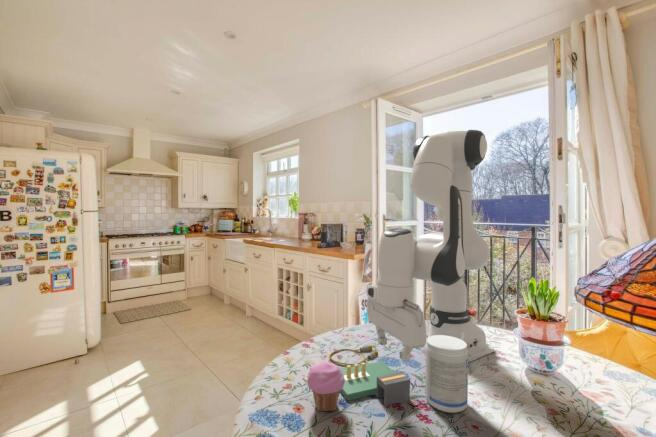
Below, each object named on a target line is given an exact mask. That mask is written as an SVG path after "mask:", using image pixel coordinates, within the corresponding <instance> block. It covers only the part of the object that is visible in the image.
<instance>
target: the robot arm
mask: <svg viewBox="0 0 656 437" xmlns="http://www.w3.org/2000/svg"><path fill="white" fill-rule="evenodd" d="M412 149H413V150H412V156H413V157H412V158H413V161H414V162H413V165H412V169H411V174H410V179H409V185H410V186H409V187H410V189H411V191H412V194H414V195H415V197H417V198H418V199H419V200H420V201H422V202H424V203H426V204H428V205H431V206H433V207H435V210H434V212H435V215H436V217H437V218H438V219H439V220H440V221H442V223H443V224H442V226H443V227H442V232H436V231H434V232H428V233H423V234H421V235H419V237H418V238H417V240H416V239H415V238H414V233H413V232H414V231H412V230H411V229H408V228H399V227H398V228H390V229H386V230H385V231H382V233H381V235H380V238H379V245H378V250H377V251H378V253H377V267H378V277H377V278H376V279H377V280H376V285H374V286H373V285H372V286H368V287H366V295H367V296H368V297H367V298H366V299H367V300H366V301H367V302H366V317H367V320H368V322H369V323H372V324H373V325H375V331H376V334H377V343H378V344H379V345H381V346H386V345H387V344H388V338H387V337H386V333H387V334H389V335H390V336H392V337H394V338H395V339H397V340H398V341H400V342H401V344H402V347H403V349H402V351H399V359H400V360H401V361H402V362H409V361H410V355H411V353H412V351H413V349H419V348H423V347H425V348H426V342H427V338H428V337H430V336H434V335H445V336H452V337H455V338H458V339H461V340H463V341H464V342H465V343H466V344H467V350H468V363H471V362H473V361H475V360H477V359H480V358H483V357H485V356H487V355H490V354H492V353H494V352H495V349H494V347H493V346H492V345H490V344H489V343H488V342H487V338H486V333H485V331H484V330H483V329H482V328H481V327H479V326H478V325H477V324H476V323H474V322H473V321H472V320H471V317H470V316H472V317H476V316H477V315H478V314H477V311H476V310H473V309H467V305H468V304H467V303H468V302H467V300H468V299H467V296H468V294H467V292H468V288H467V285H466V284H465V282H464V281H463V280H462V278H464V276H465V272H466V270H479V269H480V270H481V269H483V268H484V267H485V266H486V265H487V264H488V262H489V259H490V256H491V251H490V250H491V249H490V246H489V244H488V243H487V241H486V240H485V239H484V238H483V237H482V236H480V234H479V233H478V232H477V229H476V227H475V225H474V222H473V218H472V199H473V198H472V197H473V175H472V174H473V173H472V171H474V170H475V168H476V167H477V166H479V165H480V164H481V163H482V162H483V161H484V159H485V157H486V154H487V151H488V143H487V139H486V135H485V134H484V132H482V131H481V130H477V129H467V130H454V131H453V130H452V131H447V132H441V133H436V134H433V135H425V136H422V137H419V138H418V139H417V140H416V141H415V143H414V144H413V148H412ZM414 279H416V280H422V281H427V282H430V291H431V292H430V294H431V296H430V299H431V301H430V302H431V304H430V305H429V328H428V331H427V329H426V327H427V326H426V319H425V315H424V311H423V310H422V309H421V308H420V305H419V304H416V303H414V295H415V294H414V291H415V290H414V289H415V282H414ZM427 332H428V334H427Z"/></svg>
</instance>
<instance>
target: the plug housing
mask: <svg viewBox="0 0 656 437" xmlns="http://www.w3.org/2000/svg"><path fill="white" fill-rule="evenodd" d="M375 395H376V398H382V397H383V405H384V406H389V405H394V404H398V403H402V402H405V401H410V400H411V398H410V397H411V379H410V378H409V377H407V375H405V374H404V373H403V372H401V371H397V372H395V373H392V374H388V375H383V376H378V377H377V389H376V394H375Z"/></svg>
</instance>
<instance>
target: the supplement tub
mask: <svg viewBox="0 0 656 437" xmlns="http://www.w3.org/2000/svg"><path fill="white" fill-rule="evenodd" d="M427 337H428V336H427ZM427 337H426V341H427V342H426V347H425V385H424V386H425V387H424V388H425V399H426V401H427V402H428V404H429V405H430V406H432V407H433V408H435V409H436V410H438V411H441V412H445V413H449V414H451V413H452V414H455V413H457V414H458V413H460V412H463V411H465V410H466V409H467V406H468V397H469V396H468V394H469V393H468V391H469V390H468V388H469V387H468V386H469V383H468V380H469V362H468V350H467V344H466V343H465V342H464V341H463V340H461V339H458V338H455V337H452V336H445V335H434V336H430V337H428V338H427Z"/></svg>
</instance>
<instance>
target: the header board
mask: <svg viewBox="0 0 656 437" xmlns="http://www.w3.org/2000/svg"><path fill="white" fill-rule="evenodd" d="M353 364H354V365H352V366H353V367H351V366H350V365H347V366H346V367H343V368H340V369H341V371H342V373H343V376H344V379H345V383H344V386H343V389H342V390H340V393H341V395H342V396H343V398H345V400H346V401H347V402H348V401H351V400H356V399H360V398H364V397H367V396H368V397H370V396H372V395H376V389H377V377H378V376H383V375H388V374H392V373H396V371H394V370H393V369H392V368H390V367H389V366H388V365H387V364H385V363H384V362H383V361H382V360H380V361H375V362H370V363H366V362H364V363H363V362H362V363H360V364H361V365H360V364H357V363H353Z"/></svg>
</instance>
